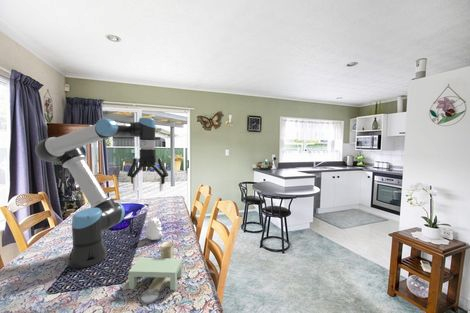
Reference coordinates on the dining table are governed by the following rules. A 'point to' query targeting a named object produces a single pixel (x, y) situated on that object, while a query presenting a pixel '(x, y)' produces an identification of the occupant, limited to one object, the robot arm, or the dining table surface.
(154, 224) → the figurine
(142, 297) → the token
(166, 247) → the pusher
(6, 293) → the dining table surface
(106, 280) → the dining table surface
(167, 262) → the footstool
